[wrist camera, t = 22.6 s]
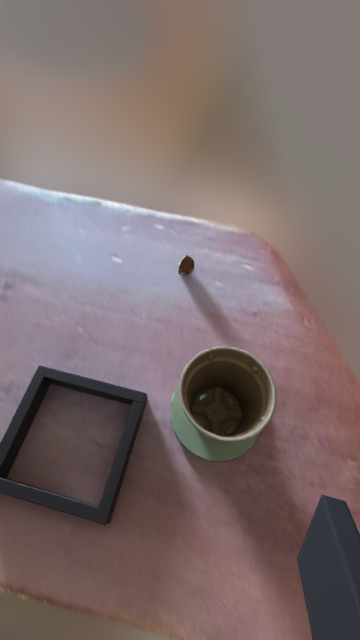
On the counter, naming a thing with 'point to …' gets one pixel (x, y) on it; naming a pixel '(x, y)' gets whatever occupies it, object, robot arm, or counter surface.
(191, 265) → the chocolate
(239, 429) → the flower pot
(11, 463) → the holder
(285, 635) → the counter surface
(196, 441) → the coaster
